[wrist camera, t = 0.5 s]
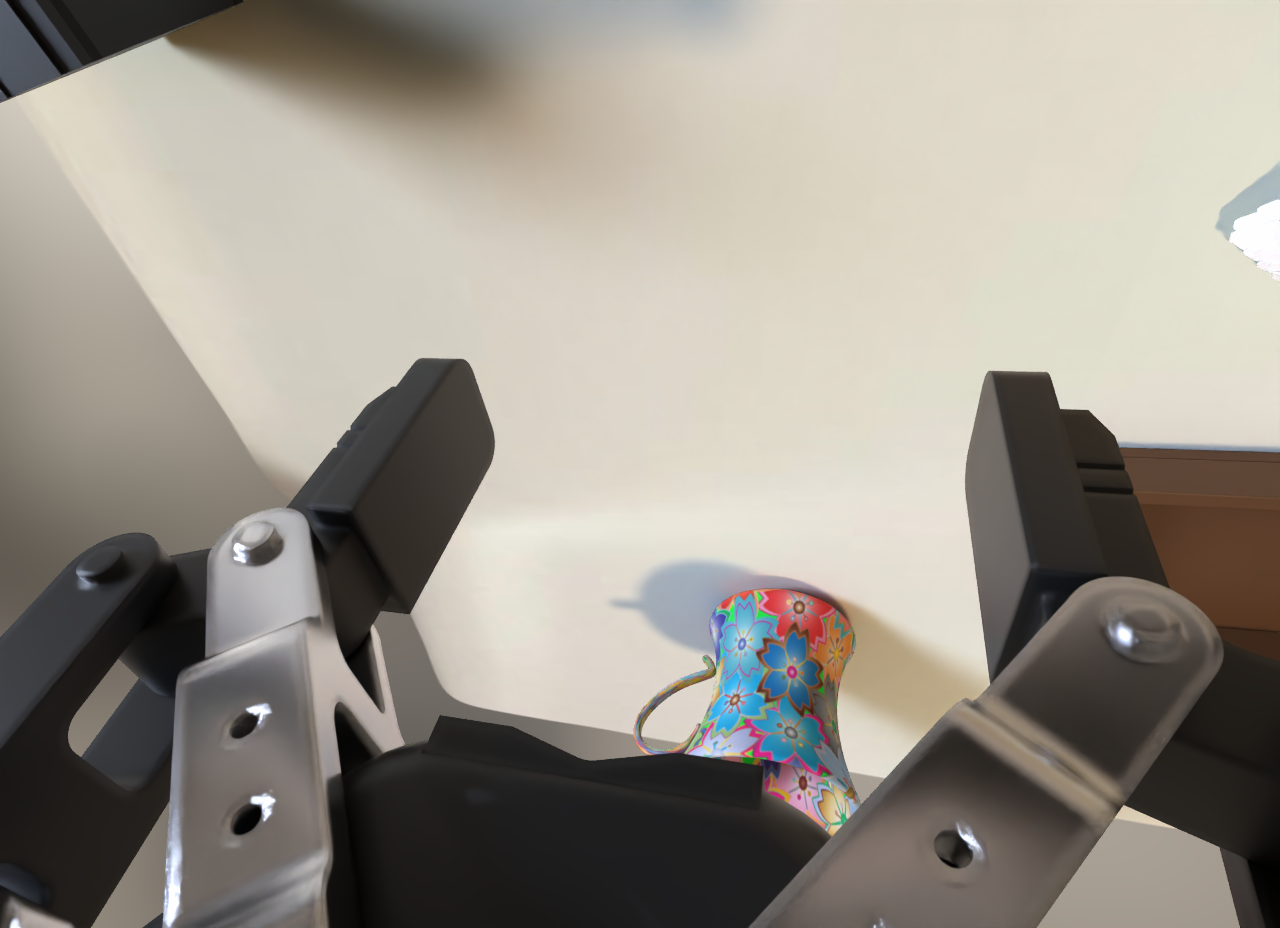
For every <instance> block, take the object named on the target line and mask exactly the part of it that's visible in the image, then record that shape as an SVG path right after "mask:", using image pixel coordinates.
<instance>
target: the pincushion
mask: <svg viewBox="0 0 1280 928" xmlns="http://www.w3.org/2000/svg"><path fill="white" fill-rule="evenodd" d="M1233 229H1235V230H1236V231H1234V232H1232V233H1231V235H1230V239H1229V241H1230V242H1232V243H1233V244H1235V245H1236V246H1238V247H1239V248H1241V249H1245V251H1244V252H1243V254H1244V255H1246V256H1247V257H1249V258H1251V259H1252V260H1254V261H1259V262H1258V263H1257V264H1256V266H1258V267H1260V268H1262V269H1263V270H1265V271H1267V272H1273V273H1272V274H1271V275H1270V277H1271V278H1273V279H1276V280H1278V281H1280V200H1274V201H1272V202H1270V203H1267V204H1265V205H1263V206H1261V207H1259V208H1258V209H1257V213H1251V214H1249V215H1246V216H1243V217H1241V218H1238V219H1236V220H1235V222H1234V226H1233Z"/></svg>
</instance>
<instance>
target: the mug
mask: <svg viewBox="0 0 1280 928" xmlns="http://www.w3.org/2000/svg"><path fill="white" fill-rule="evenodd" d="M709 627H710V634H711V637H712V640H713V643H714V646H715V652H716V668H715V665H714V662H713V661H712V659H711V658H710V657H709V656H708V655H704V656H703V662H704V663H705V665H706V666H707V667H708V669H706V670H703V671H700V672H697V673H694V674H691V675H688V676H685V677H683V678H681V679H679V680H677V681H675V682H673V683H671V684H670V685H668V686H667V687H665V688H664V689H662V690H661V691H660V692H658V693H657V694H656V695H655V696H654V697H653V698H652V699H651V700H650V701H649V702H648V703H647V704H646V705H645V706H644V707H643V709H642V710H641V712H640V713H639V715H638V717H637V719H636V721H635V724H634V739H635V742H636V744H637V746H638V747H639V749H640V750H641V751H642V752H643V753H645V754H646V755H657V754H667V753H684V754H690V755H696V756H703V757H709V758H715V759H722V760H728V761H735V762H741V763H747V764H754V765H760V766H764V777H765V792H767V793H769V794H772V795H774V796H776V797H778V798H780V799H782V800H784V801H786V802H787V803H789V804H791V805H792V806H794V807H796V808H797V809H799V810H800V811H802V812H804V813H805V814H806V815H808V816H809V817H810V818H811V819H813V820H814V821H815V822H816V823H818V824H819V825H820V826H821V827H823V828H824V829H825V830H826V831H827V832H828V833H829V834H830V835H831V836H833V835H834V834H835V833H836V832H837V831H838V829H839V828H840V827H841V826H842V825H843V824H844V823H845V822H846V821H847V820H848V819H849V817H850V816H851V815H852V814H853V813H854V812H855V811H856V810H857V809H858V808H859V807H860V806H861V803H860V800H859V797H858V795H857V793H856V791H855V788H854V785H853V783H852V780H851V778H850V775H849V772H848V769H847V766H846V763H845V760H844V756H843V752H842V748H841V743H840V737H839V730H838V721H837V699H838V690H839V685H840V680H841V677H842V674H843V671H844V669H845V667H846V665H847V663H848V661H849V660H850V659H851V657H852V655H853V653H854V650H855V646H856V639H855V634H854V631H853V629H852V627H851V625H850V623H849V622H848V621H847V619H846V618H845V617H844V616H843V615H842V614H841V613H840V612H839V611H838V610H836V609H835V608H834V607H832V606H831V605H829V604H827V603H826V602H824V601H822V600H820V599H817V598H815V597H813V596H810V595H807V594H804V593H800V592H796V591H790V590H784V589H755V590H749V591H745V592H741V593H738V594H736V595H733V596H731V597H729V598H728V599H726V600H725V601H723V602H722V603H721V604H719V605H718V607H717V608H716V609H715V610H714V612H713V614H712V616H711V619H710V624H709ZM715 674H716V677H715V684H714V689H713V693H712V697H711V701H710V704H709V707H708V710H707V712H706V715H705V717H704V719H703V722H702V724H697V725H696V728H695V730H694V731H693V733H692V734H691V735H690V737H689V738H688V739H687V740H686V741H684V742H683V743H682V744H680V745H678V746H676V747H674V748H670V749H664V750H662V749H655V748H652V747H650V746H648V745H647V744H646V743H645V742H644V741H643V740H642V738H641V730H642V727H643V724H644V722H645V721H646V719H647V718H648V716H649V715H650V714H651V712H652V711H653V710H654V709H655V708H656V707H657V706H658V705H659V704H660V703H662V702H663V701H664V700H665V699H667V698H668V697H669V696H671V695H672V694H674V693H676V692H677V691H679V690H681V689H683V688H685V687H688V686H690V685H693V684H696V683H698V682H701V681H704V680H707V679H710V678H712V677H714V676H715Z"/></svg>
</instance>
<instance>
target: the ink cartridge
mask: <svg viewBox="0 0 1280 928" xmlns="http://www.w3.org/2000/svg"><path fill="white" fill-rule="evenodd" d="M242 2H244V1H243V0H0V103H1V102H4V101H6V100H8V99H11V98H13V97H16V96H18V95H21V94H23V93H26V92H28V91H31V90H33V89H36V88H38V87H41V86H43V85H46V84H48V83H51V82H53V81H55V80H58V79H60V78H63V77H65V76H68V75H70V74H73V73H75V72H78V71H80V70H83V69H85V68H88V67H90V66H93V65H95V64H98V63H100V62H103V61H105V60H107V59H110V58H112V57H115V56H117V55H120V54H122V53H125V52H127V51H130V50H132V49H135V48H137V47H140V46H142V45H145V44H147V43H149V42H152V41H154V40H157V39H159V38H161V37H164V36H166V35H168V34H171V33H173V32H175V31H178V30H180V29H182V28H185V27H187V26H189V25H192V24H194V23H196V22H198V21H201V20H203V19H205V18H208V17H210V16H212V15H215V14H217V13H219V12H222V11H224V10H226V9H229V8H231V7H233V6H235V5H238V4H240V3H242Z"/></svg>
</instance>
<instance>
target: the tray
mask: <svg viewBox="0 0 1280 928" xmlns="http://www.w3.org/2000/svg"><path fill="white" fill-rule="evenodd" d="M1119 449H1120V452H1121V454H1122V457H1123V460H1124V463H1125V471H1128V474H1129V477H1130V479H1131V482H1132V485H1133V488H1134V491H1133V494H1134V495H1136V496H1137V499H1138V501H1139V504H1140V507H1141V510H1142V512H1143V515H1144V518H1145V521H1146V523H1147V526H1148V529H1149V532H1150V535H1151V537H1152V540H1153V543H1154V546H1155V548H1156V551H1157V554H1158V557H1159V559H1160V562H1161V565H1162V568H1163V570H1164V573H1165V576H1166V579H1167V581H1168V584H1169V586H1170V588H1171V590H1173V591H1175V592H1176V593H1178V594H1180V595H1182V596H1183V597H1185V598H1186V599H1188V600H1189V601H1191V602H1192V603H1193V604H1195V605H1196V606H1197V607H1198V608H1199V609H1200V610H1201V611H1202V612H1203V613H1205V614H1206V616H1207V617H1208V618H1209V619H1210V620H1211V622H1212V623H1213V624H1214V626H1215V628H1216V629H1217V631H1218V633H1219V635H1220V637H1221V638H1222V639H1224V640H1226V641H1228V642H1230V643H1232V644H1234V645H1236V646H1238V647H1240V648H1243V649H1245V650H1248V651H1251V652H1253V653H1256V654H1259V655H1262V656H1265V657H1268V658H1271V659H1274V660H1277V661H1280V453H1274V452H1242V451H1211V450H1179V449H1147V448H1119Z"/></svg>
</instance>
